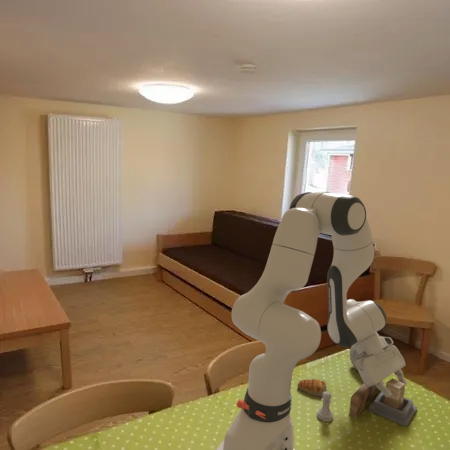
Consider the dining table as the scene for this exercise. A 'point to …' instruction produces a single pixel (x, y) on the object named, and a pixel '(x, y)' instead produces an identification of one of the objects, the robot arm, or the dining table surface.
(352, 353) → the donut
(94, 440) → the dining table surface
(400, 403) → the block
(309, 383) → the pastry
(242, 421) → the robot arm
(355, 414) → the door edge
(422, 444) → the dining table surface
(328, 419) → the chess piece
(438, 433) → the dining table surface
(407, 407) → the seat block
